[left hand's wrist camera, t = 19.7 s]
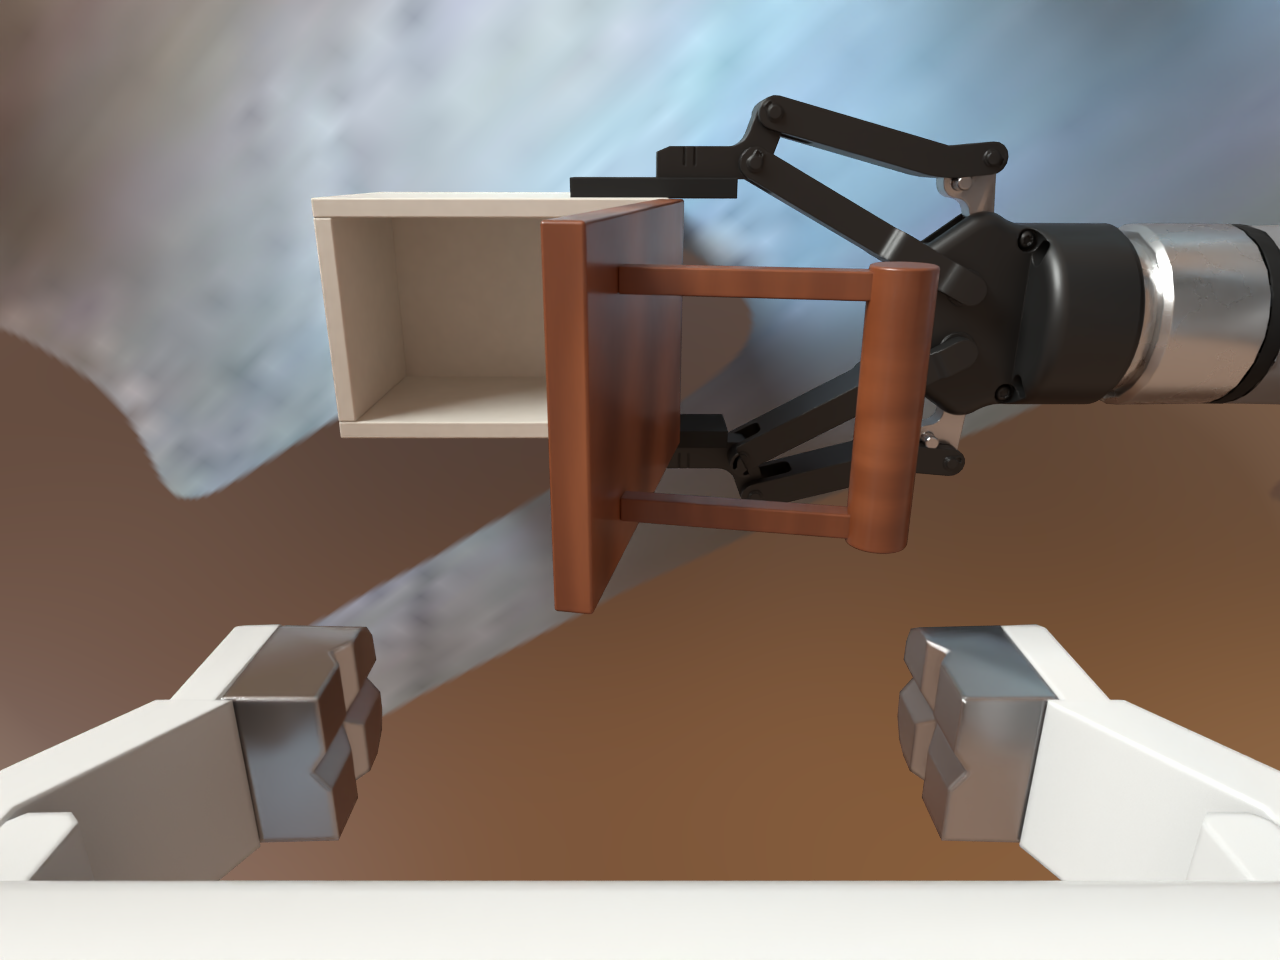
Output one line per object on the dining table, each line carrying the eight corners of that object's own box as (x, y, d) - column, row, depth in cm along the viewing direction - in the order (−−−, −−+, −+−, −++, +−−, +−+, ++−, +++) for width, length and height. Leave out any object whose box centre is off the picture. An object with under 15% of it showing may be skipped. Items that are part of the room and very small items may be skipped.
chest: (397, 386, 44) (340, 438, 35) (378, 192, 41) (310, 198, 32) (661, 386, 44) (667, 438, 35) (663, 192, 41) (670, 198, 32)
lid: (553, 612, 22) (915, 648, 20) (538, 219, 18) (970, 225, 17) (655, 442, 35) (876, 455, 33) (657, 198, 32) (902, 200, 30)
